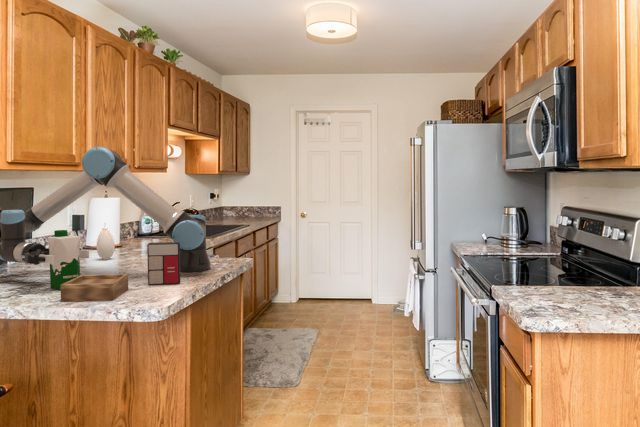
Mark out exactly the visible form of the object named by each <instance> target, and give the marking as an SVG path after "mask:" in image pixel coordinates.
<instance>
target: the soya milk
mask: <svg viewBox="0 0 640 427" xmlns="http://www.w3.org/2000/svg"><path fill="white" fill-rule="evenodd" d="M53 235H54V236H53ZM53 235H52V236H47V243H48V244H47V245H48V248H49V255H52V256H54V264H49V283H50V289H53V290H58V291H61V289H60V285H61V284H63V283H66V282H68V281H70V280H72V279H74V278H76V277H78V276H81V270H80V269H81V264H80V263H81V262H80V261H81V260H80V257H79V249H80V245H81V238H82V237H81V236H78V235H71V234H70V235H69V234H68V230H67V229H58V230H54V234H53Z"/></svg>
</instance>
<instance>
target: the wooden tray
mask: <svg viewBox="0 0 640 427" xmlns="http://www.w3.org/2000/svg"><path fill="white" fill-rule="evenodd" d="M60 289H61V290H60V302H97V301H98V302H99V301H101V302H102V301H103V302H104V301H105V302H106V301H114V300H116V299H117V298H119V297H120V296H122V295H123V294H124V293H125V292H127V291H128V290H129V274H87V275H85V274H83V275H82V274H80V276H78V277H76V278H74V279H72V280H70V281H68V282H66V283H63V284H61V285H60Z"/></svg>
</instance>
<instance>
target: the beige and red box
mask: <svg viewBox="0 0 640 427" xmlns="http://www.w3.org/2000/svg"><path fill="white" fill-rule="evenodd" d="M146 247H147V248H146V249H147V252H146V253H147V285H148V286H154V285H155V286H159V285H160V286H161V285H162V286H163V285H179V284H180V283H181V271H180V242H174V241H171V242H170V241H165V242H163V241H162V242H161V241H159V242H158V241H157V242H148V243H147V244H146Z"/></svg>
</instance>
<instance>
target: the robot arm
mask: <svg viewBox="0 0 640 427" xmlns="http://www.w3.org/2000/svg"><path fill="white" fill-rule="evenodd" d="M81 167H82V169H83V171H81V172H80V173H78V174H77V175H76V176H74V177H73V178H72V179H70V180H69V181H67V182H66V183H64V184H63V185H62V186H59V188H57V189H56V190H55V191H53V192H51V193H50V194H49V195H47V196H46V197H45V198H43V199H42V200H40V201H39V202H37V203H35V204H34V205H33V206H32V207H30V208H29V209H27V210H26V211H24V210H23V209H5V210H2V211H1V212H0V232H1V239H0V240H1V241H0V260H1V261H4V262H9V263H20V264H21V263H23V264H24V265H25V266H26V265H28V264H31V265H34V266H38V265H40V264H46V265H47V264H48V265H50V264H54V256H52V255H49V247H48V248H46V246H45V245H44V244H42V243H36V242H26V233H32V232H35V231H38V229H40V228H41V227H42V226H43V224H44V223H46V222H47V221H48V220H50V219H52V218H53V217H54V216H56V215H57V214H58V213H61V212H62V211H63V210H64V209H65V208H67V207H68V206H70V205H71V204H73V203H74V202H76V201H77V200H78V199H80V198H81V197H83V196H84V195H86V194H87V193H89V192H90V191H92V190H93V189H95V188H96V187H97V186H105V187H106V188H109V189H110V188H113V189H115V190H116V191H117V192H119V193H120V194H121V195H122V196H124V198H126V199H127V200H129V201H130V203H132V204H134V205H135V206H136V207H137V208H138V209H140V210H141V211H142V212H144V213H145V215H147V216H149V217H150V218H151V219H152V220H153V221H155V223H157V224H159V225H160V226H161V227H162V228H163V233H164V234H165V235H166V236H167V237H168V238H169V239H170V240H172V242H180V272H181V273H182V272H184V273H185V272H186V273H188V272H189V273H191V272H201V271H207V270H206V269H208V270H210V269H211V261H210V257H209V255H208V252H207V227H206V226H207V220H206V216H204V215H202V214H201V215H199V214H188V212H186V211H185V210H178V209H176V208H175V207H174V206H173V205H172V204H170V203H169V202H168V201H167V200H165V199H164V198H163V197H162V196H161V195H160V194H158V193H157V192H155V191H154V190H153V189H152V188H151V187H149V186H148V184H146V183H144V182H143V181H142V180H141V179H139V178H138V176H136V175H135V174H134V173H132V172H131V171H130V168H129V167H130V166H129V164H128V163H127V162H126V161H124V160H123V159H122V157H121V155H120V154H118V153H117V152H116V151H114V150H112V149H108V148H107V147H103V146H97V147H96V146H95V147H92V148H90V149H88V150H87V151H86V152H85V153H84V154H83V156H82V159H81ZM79 257H80V258H81V259H90V250H88V249H87V250H86V249H82V248H79ZM209 268H210V269H209Z"/></svg>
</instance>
